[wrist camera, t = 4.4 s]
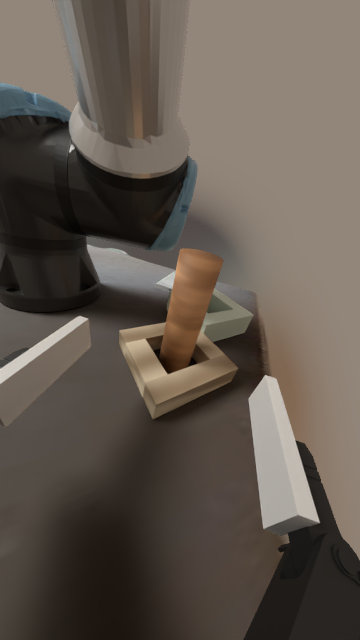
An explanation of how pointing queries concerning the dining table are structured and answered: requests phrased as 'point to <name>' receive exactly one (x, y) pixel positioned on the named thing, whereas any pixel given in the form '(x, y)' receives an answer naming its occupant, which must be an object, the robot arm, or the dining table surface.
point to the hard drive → (166, 282)
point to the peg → (188, 306)
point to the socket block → (223, 317)
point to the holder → (177, 386)
